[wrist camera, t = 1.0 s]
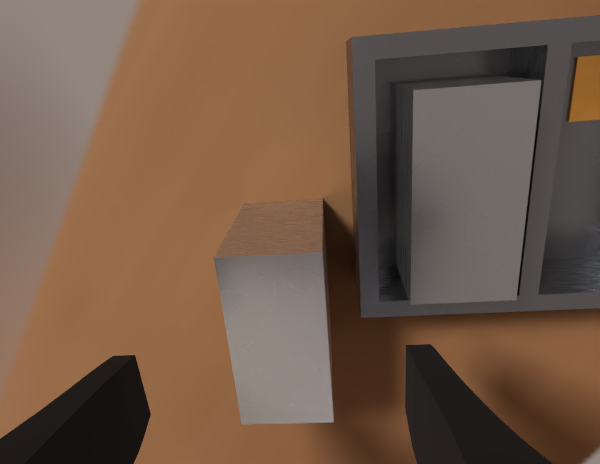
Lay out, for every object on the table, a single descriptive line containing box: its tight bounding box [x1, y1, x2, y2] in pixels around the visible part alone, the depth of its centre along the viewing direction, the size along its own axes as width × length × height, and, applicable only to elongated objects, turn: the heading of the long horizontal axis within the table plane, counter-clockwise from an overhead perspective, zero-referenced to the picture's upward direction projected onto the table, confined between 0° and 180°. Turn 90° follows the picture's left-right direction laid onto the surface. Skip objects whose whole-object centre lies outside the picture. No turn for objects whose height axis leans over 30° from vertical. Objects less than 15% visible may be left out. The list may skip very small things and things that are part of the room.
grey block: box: [214, 198, 334, 424], centre depth 15 cm, size 6×3×5 cm, turn 4°
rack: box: [346, 15, 600, 318], centre depth 14 cm, size 9×11×4 cm
